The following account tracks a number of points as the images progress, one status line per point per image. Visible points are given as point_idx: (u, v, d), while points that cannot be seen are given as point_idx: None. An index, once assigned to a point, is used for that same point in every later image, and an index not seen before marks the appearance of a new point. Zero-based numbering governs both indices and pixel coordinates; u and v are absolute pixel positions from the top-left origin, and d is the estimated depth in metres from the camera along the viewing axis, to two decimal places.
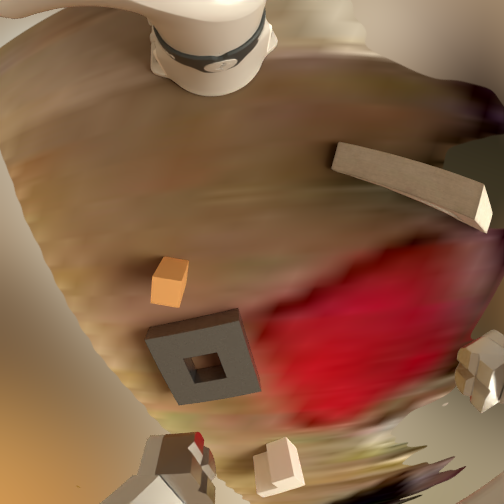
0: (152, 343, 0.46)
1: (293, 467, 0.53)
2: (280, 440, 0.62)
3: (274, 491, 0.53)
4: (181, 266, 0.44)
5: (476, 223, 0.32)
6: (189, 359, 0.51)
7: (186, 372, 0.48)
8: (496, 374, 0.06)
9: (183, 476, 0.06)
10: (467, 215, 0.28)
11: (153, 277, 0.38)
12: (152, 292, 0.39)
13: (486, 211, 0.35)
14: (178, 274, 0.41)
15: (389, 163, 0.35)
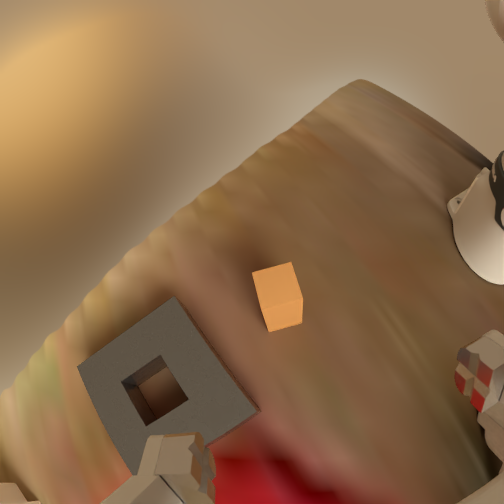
0: (172, 307, 0.34)
1: None
2: None
3: None
4: None
5: None
6: (154, 370, 0.33)
7: (137, 365, 0.30)
8: (496, 374, 0.06)
9: (183, 476, 0.05)
10: None
11: (290, 263, 0.30)
12: (268, 269, 0.30)
13: None
14: None
15: None
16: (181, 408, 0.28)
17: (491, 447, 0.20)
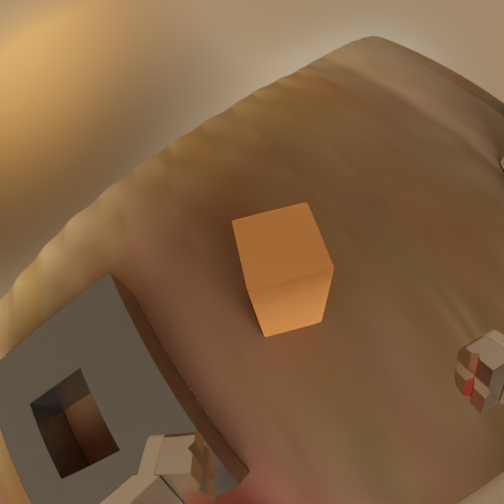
0: (103, 290, 0.19)
1: None
2: None
3: None
4: None
5: None
6: (81, 391, 0.18)
7: (49, 382, 0.16)
8: (496, 374, 0.06)
9: (184, 476, 0.06)
10: None
11: (305, 204, 0.15)
12: (263, 214, 0.15)
13: None
14: None
15: None
16: (109, 462, 0.13)
17: None
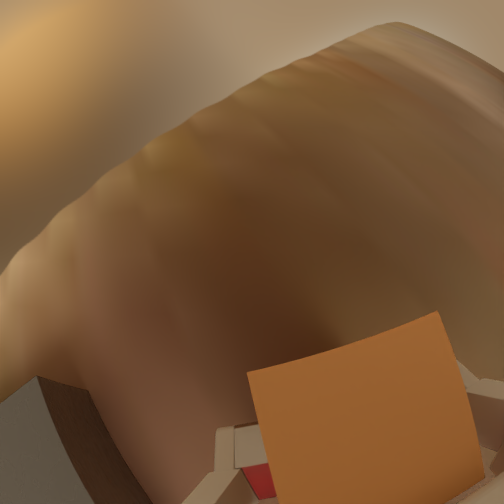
0: (31, 406, 0.09)
1: None
2: None
3: None
4: None
5: None
6: None
7: None
8: None
9: (267, 465, 0.06)
10: None
11: (435, 319, 0.05)
12: (336, 357, 0.05)
13: None
14: None
15: None
16: None
17: None
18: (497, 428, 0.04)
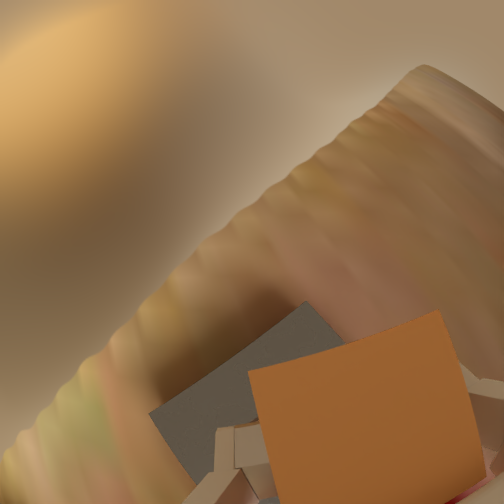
0: (306, 317, 0.23)
1: None
2: None
3: None
4: None
5: None
6: None
7: None
8: None
9: (267, 465, 0.06)
10: None
11: (436, 318, 0.05)
12: (337, 355, 0.05)
13: None
14: None
15: None
16: None
17: None
18: (497, 428, 0.04)
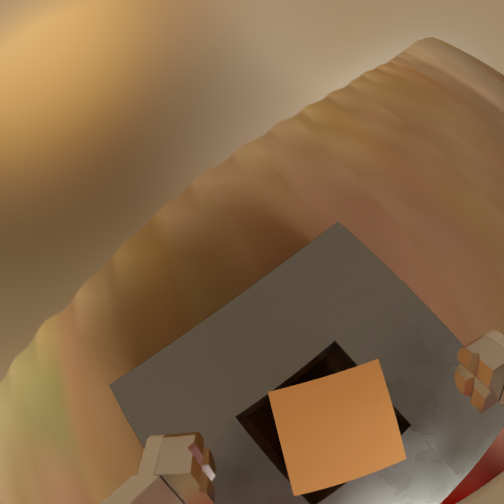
0: (339, 242, 0.17)
1: None
2: None
3: None
4: None
5: None
6: (293, 380, 0.16)
7: (278, 374, 0.13)
8: (496, 374, 0.06)
9: (183, 476, 0.05)
10: None
11: (376, 364, 0.09)
12: (316, 384, 0.09)
13: None
14: None
15: None
16: None
17: None
18: None
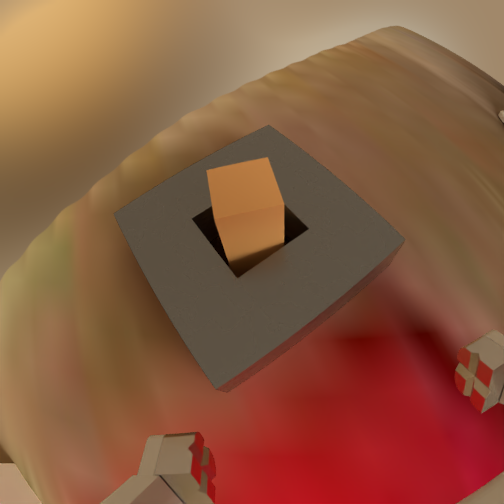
0: (267, 134, 0.26)
1: None
2: (32, 495, 0.14)
3: None
4: None
5: None
6: None
7: None
8: (496, 374, 0.06)
9: (183, 476, 0.05)
10: None
11: (266, 159, 0.19)
12: (232, 166, 0.19)
13: None
14: None
15: None
16: (298, 242, 0.20)
17: None
18: None
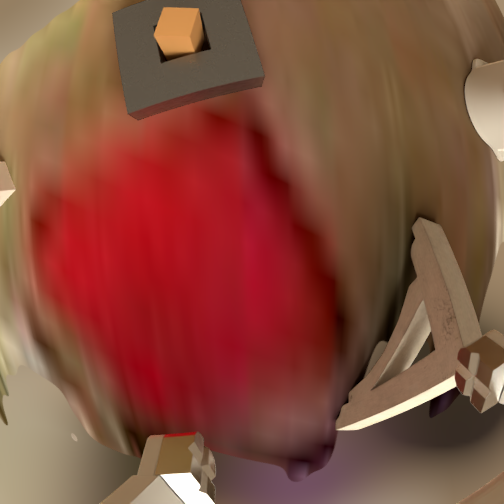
0: None
1: None
2: (10, 181, 0.33)
3: None
4: (196, 49, 0.29)
5: (427, 387, 0.27)
6: None
7: None
8: (496, 374, 0.06)
9: (184, 476, 0.06)
10: None
11: (197, 9, 0.24)
12: (177, 8, 0.24)
13: (408, 406, 0.32)
14: (193, 38, 0.26)
15: (454, 270, 0.32)
16: (201, 54, 0.29)
17: (413, 257, 0.37)
18: None
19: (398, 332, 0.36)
